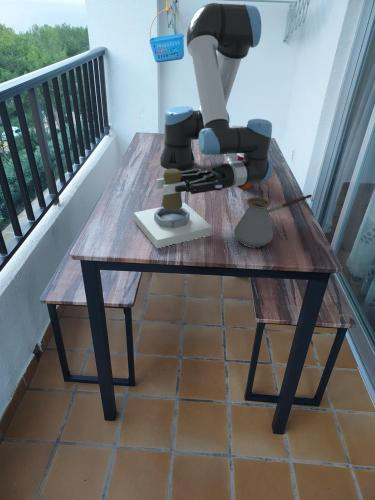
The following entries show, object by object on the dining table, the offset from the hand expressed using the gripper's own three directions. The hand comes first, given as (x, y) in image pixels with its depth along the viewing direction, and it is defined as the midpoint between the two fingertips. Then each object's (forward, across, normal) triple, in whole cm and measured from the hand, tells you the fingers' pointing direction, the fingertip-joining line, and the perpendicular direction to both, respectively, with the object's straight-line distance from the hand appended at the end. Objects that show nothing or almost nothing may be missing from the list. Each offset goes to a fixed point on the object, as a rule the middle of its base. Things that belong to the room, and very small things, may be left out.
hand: (160, 187), depth 103 cm
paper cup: (-44, +18, -14) cm, 50 cm away
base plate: (-4, 0, -14) cm, 15 cm away
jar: (-57, +42, -14) cm, 72 cm away
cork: (-4, 0, -7) cm, 8 cm away
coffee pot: (-27, -18, -15) cm, 36 cm away
